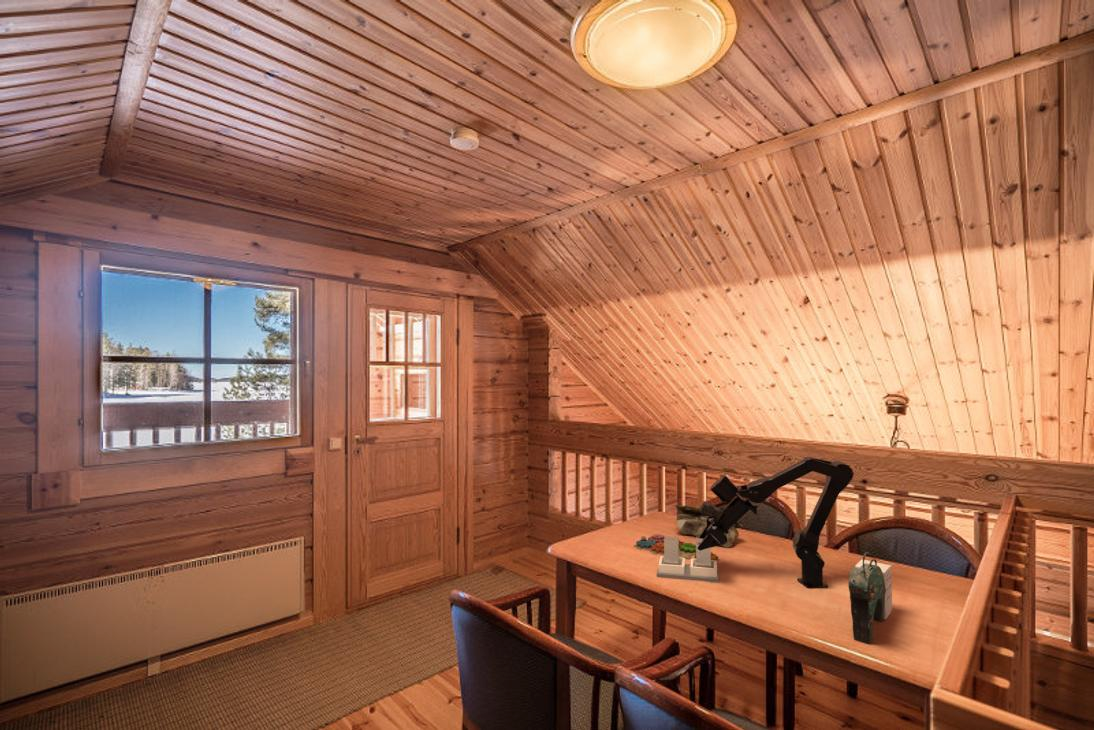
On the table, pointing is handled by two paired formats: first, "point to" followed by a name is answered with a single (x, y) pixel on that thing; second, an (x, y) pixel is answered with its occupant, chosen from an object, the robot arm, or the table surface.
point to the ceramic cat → (866, 599)
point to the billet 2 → (702, 555)
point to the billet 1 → (671, 550)
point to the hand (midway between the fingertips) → (698, 544)
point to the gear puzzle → (657, 547)
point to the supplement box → (888, 584)
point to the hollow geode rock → (700, 524)
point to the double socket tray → (688, 571)
